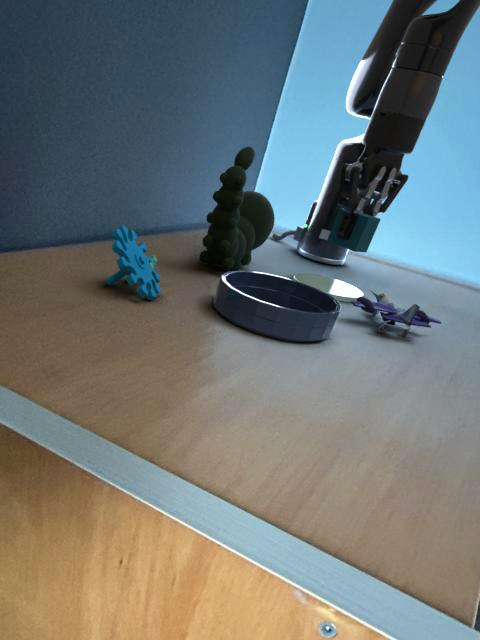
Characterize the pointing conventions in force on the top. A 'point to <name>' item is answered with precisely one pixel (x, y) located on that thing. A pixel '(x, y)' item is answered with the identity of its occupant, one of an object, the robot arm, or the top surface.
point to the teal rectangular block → (355, 232)
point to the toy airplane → (394, 312)
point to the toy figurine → (236, 218)
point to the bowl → (276, 306)
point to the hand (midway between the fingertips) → (349, 238)
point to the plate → (330, 286)
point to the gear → (134, 264)
